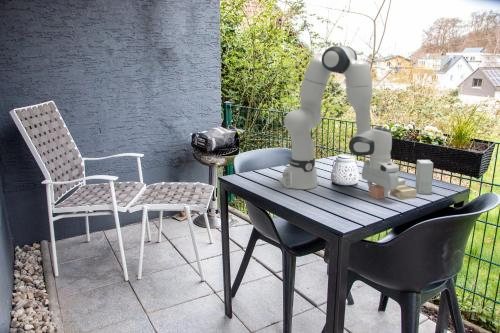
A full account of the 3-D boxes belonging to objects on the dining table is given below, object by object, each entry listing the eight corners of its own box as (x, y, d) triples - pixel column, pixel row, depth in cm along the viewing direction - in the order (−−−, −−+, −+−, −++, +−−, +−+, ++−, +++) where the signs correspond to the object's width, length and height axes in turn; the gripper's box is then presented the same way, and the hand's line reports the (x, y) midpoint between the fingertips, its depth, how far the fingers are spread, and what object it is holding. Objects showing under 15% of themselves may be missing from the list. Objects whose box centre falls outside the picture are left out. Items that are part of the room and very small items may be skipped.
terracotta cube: (369, 196, 174) (370, 185, 173) (378, 194, 176) (379, 184, 175) (377, 199, 170) (377, 188, 169) (385, 197, 172) (386, 187, 170)
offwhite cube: (389, 189, 184) (390, 179, 182) (395, 187, 187) (396, 177, 185) (398, 191, 180) (399, 181, 179) (404, 189, 183) (405, 179, 182)
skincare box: (431, 194, 174) (434, 163, 171) (417, 194, 176) (420, 162, 172) (427, 189, 182) (430, 159, 179) (414, 188, 184) (416, 158, 180)
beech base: (389, 195, 176) (390, 186, 175) (404, 193, 178) (404, 185, 177) (401, 200, 169) (402, 191, 168) (416, 198, 171) (417, 189, 170)
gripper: (359, 159, 177) (357, 188, 181) (390, 169, 159) (388, 200, 162) (370, 158, 180) (368, 186, 183) (402, 168, 161) (399, 198, 165)
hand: (377, 193), depth 172 cm, fingers open, 8 cm apart
